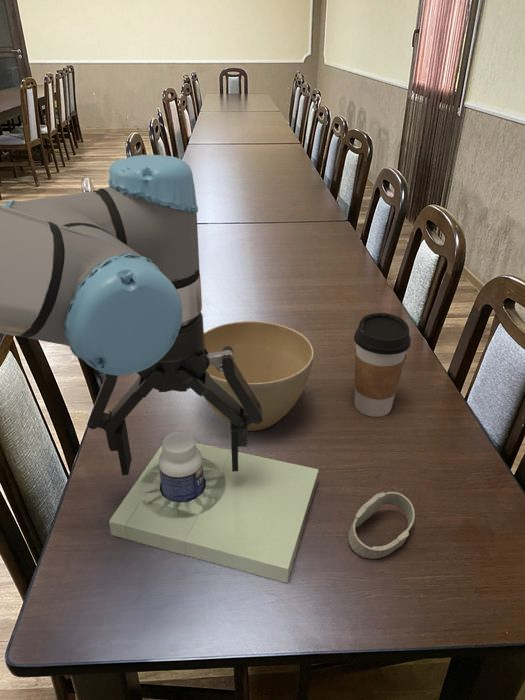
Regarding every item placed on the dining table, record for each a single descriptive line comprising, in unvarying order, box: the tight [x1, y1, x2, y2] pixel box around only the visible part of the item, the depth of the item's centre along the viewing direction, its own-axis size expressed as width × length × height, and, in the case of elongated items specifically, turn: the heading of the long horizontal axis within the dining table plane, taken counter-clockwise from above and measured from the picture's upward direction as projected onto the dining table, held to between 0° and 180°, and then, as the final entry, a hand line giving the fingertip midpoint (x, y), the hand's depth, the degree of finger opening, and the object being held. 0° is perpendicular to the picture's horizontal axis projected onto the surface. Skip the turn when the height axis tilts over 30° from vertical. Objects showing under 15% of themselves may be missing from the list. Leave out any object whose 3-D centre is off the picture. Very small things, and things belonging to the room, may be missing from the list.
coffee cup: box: [353, 312, 412, 418], centre depth 83 cm, size 8×8×15 cm
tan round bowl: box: [204, 320, 315, 432], centre depth 82 cm, size 18×18×12 cm
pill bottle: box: [159, 430, 204, 503], centre depth 67 cm, size 5×5×10 cm
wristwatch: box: [347, 491, 416, 560], centre depth 64 cm, size 9×6×5 cm
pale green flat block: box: [108, 442, 319, 584], centre depth 68 cm, size 22×16×2 cm
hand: (181, 465), depth 67 cm, fingers open, 13 cm apart
